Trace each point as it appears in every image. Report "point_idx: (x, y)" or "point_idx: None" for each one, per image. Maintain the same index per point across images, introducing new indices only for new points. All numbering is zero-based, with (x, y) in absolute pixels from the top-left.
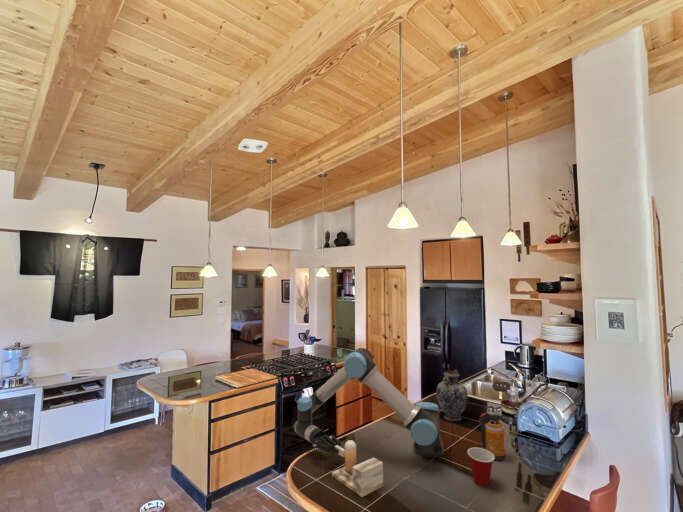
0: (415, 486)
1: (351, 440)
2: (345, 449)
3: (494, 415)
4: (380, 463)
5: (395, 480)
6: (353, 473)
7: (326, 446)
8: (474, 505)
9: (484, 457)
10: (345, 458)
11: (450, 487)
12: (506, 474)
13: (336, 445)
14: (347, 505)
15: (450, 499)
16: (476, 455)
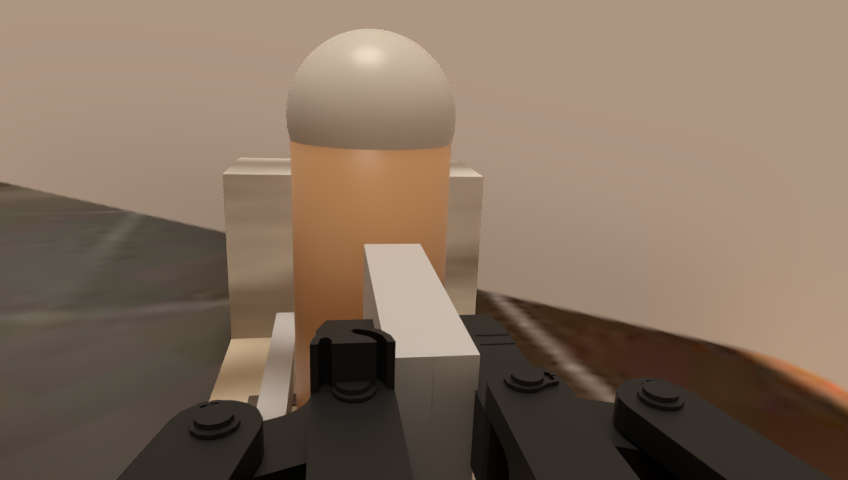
0: (112, 277)
1: (351, 31)
2: (452, 138)
3: None
4: (265, 158)
5: (122, 323)
6: (477, 222)
7: (739, 427)
8: (107, 208)
9: None
10: (445, 258)
11: (15, 240)
12: None
13: (418, 351)
14: (566, 312)
15: (122, 226)
16: None
